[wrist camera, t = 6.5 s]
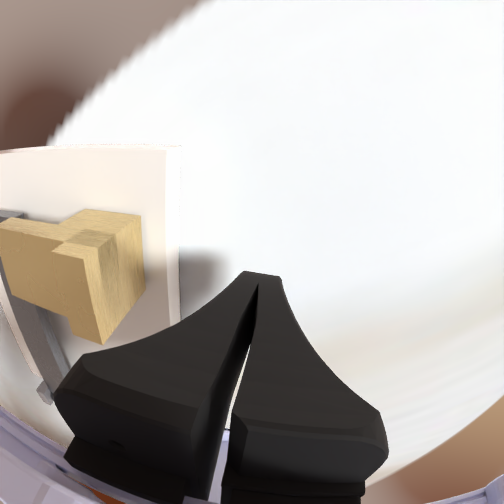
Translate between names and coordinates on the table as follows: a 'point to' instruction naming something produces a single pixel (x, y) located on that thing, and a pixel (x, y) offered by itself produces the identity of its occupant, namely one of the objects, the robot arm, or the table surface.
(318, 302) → the table surface
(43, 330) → the dark grey flat bar
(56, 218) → the board
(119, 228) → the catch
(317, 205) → the table surface
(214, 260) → the table surface
